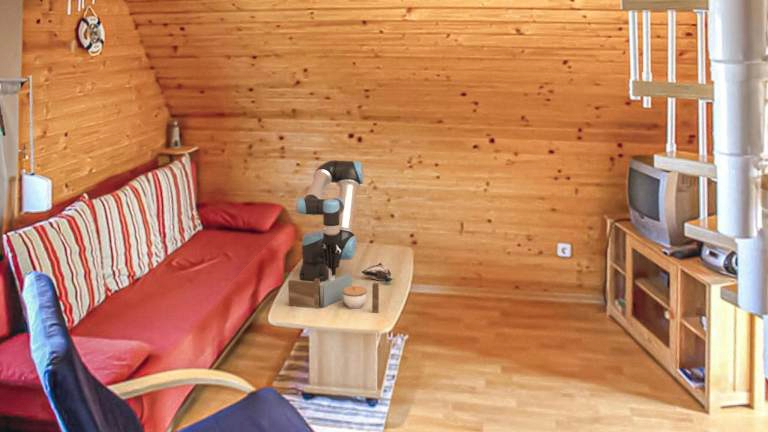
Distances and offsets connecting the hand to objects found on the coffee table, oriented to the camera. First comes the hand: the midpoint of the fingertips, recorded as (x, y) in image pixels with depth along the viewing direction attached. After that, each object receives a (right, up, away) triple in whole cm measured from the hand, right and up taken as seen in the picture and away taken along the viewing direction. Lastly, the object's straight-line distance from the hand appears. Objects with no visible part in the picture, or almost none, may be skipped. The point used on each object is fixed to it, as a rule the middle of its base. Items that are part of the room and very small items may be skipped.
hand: (331, 281), depth 334 cm
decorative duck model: (+21, -2, +19) cm, 29 cm away
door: (+2, -8, -7) cm, 11 cm away
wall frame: (+2, -11, -16) cm, 19 cm away
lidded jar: (+11, -10, -12) cm, 20 cm away
